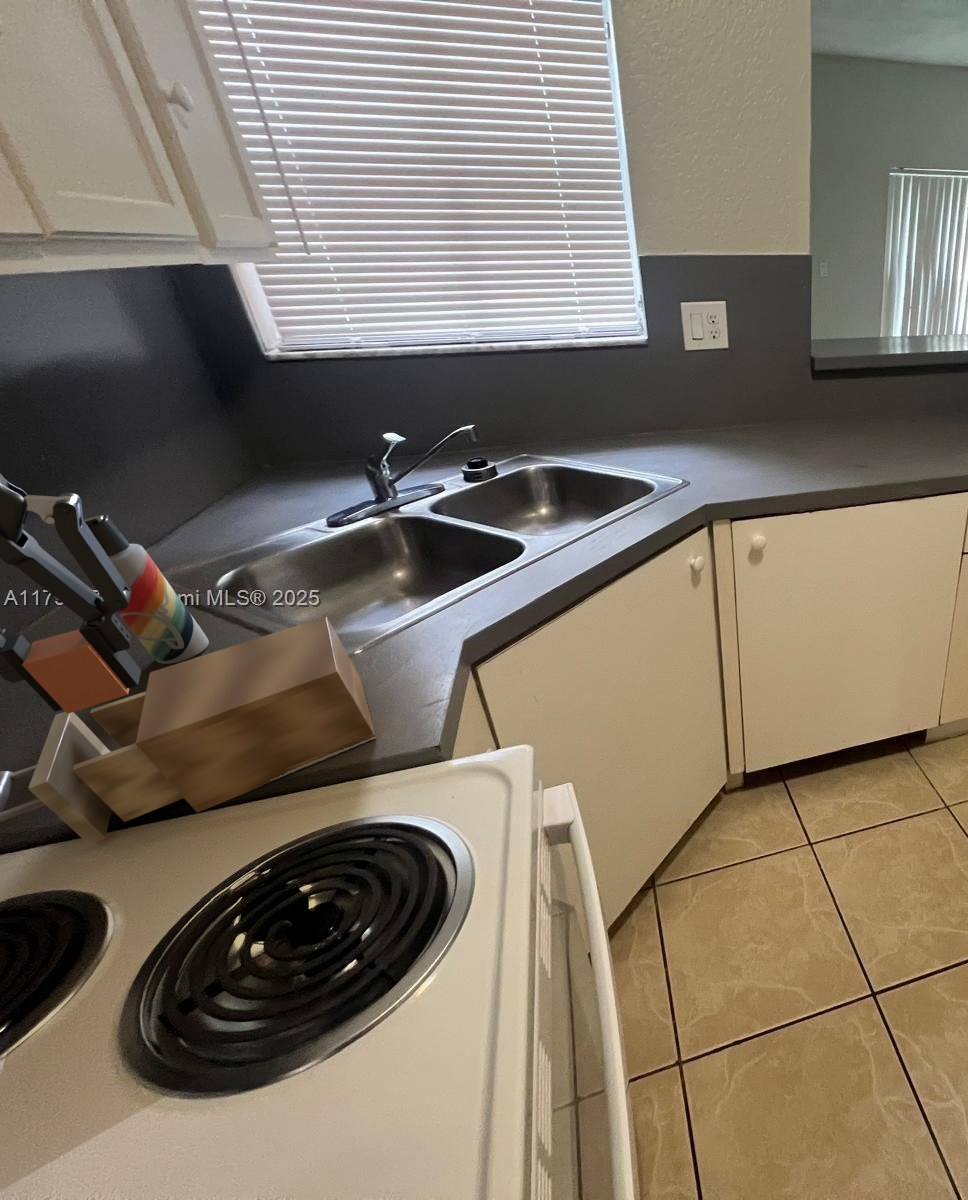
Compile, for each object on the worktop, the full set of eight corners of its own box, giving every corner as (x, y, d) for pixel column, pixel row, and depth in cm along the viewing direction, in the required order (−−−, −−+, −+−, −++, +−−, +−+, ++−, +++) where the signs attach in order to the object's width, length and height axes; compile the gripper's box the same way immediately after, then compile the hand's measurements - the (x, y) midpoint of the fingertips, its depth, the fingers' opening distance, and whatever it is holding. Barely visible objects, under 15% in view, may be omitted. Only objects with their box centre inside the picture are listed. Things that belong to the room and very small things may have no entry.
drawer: (0, 881, 55) (-72, 824, 51) (30, 797, 63) (-30, 742, 59) (277, 768, 65) (236, 713, 61) (273, 707, 73) (237, 655, 69)
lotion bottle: (166, 670, 81) (59, 533, 70) (149, 656, 84) (43, 522, 73) (217, 646, 85) (123, 513, 74) (200, 634, 88) (107, 504, 77)
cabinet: (197, 813, 62) (135, 743, 57) (202, 738, 71) (149, 672, 65) (376, 739, 70) (337, 671, 64) (362, 679, 78) (326, 615, 73)
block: (67, 714, 54) (21, 665, 51) (75, 689, 57) (32, 641, 54) (128, 694, 56) (87, 646, 53) (133, 671, 59) (95, 624, 56)
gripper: (-366, 486, 37) (-52, 760, 50) (40, 423, 45) (217, 672, 58) (-293, 450, 42) (-25, 708, 55) (60, 400, 50) (219, 634, 63)
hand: (99, 689), depth 56 cm, fingers closed on block, 4 cm apart
